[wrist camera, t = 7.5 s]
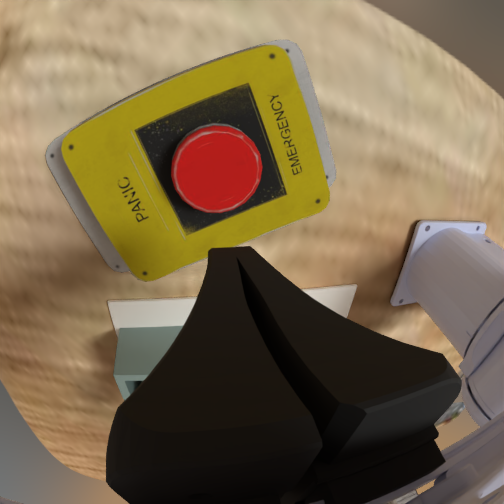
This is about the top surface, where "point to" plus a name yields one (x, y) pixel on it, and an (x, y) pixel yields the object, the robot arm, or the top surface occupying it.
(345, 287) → the white flat plate
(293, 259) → the top surface
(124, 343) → the grey-green hollow square block
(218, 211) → the emergency button
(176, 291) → the top surface
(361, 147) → the top surface
